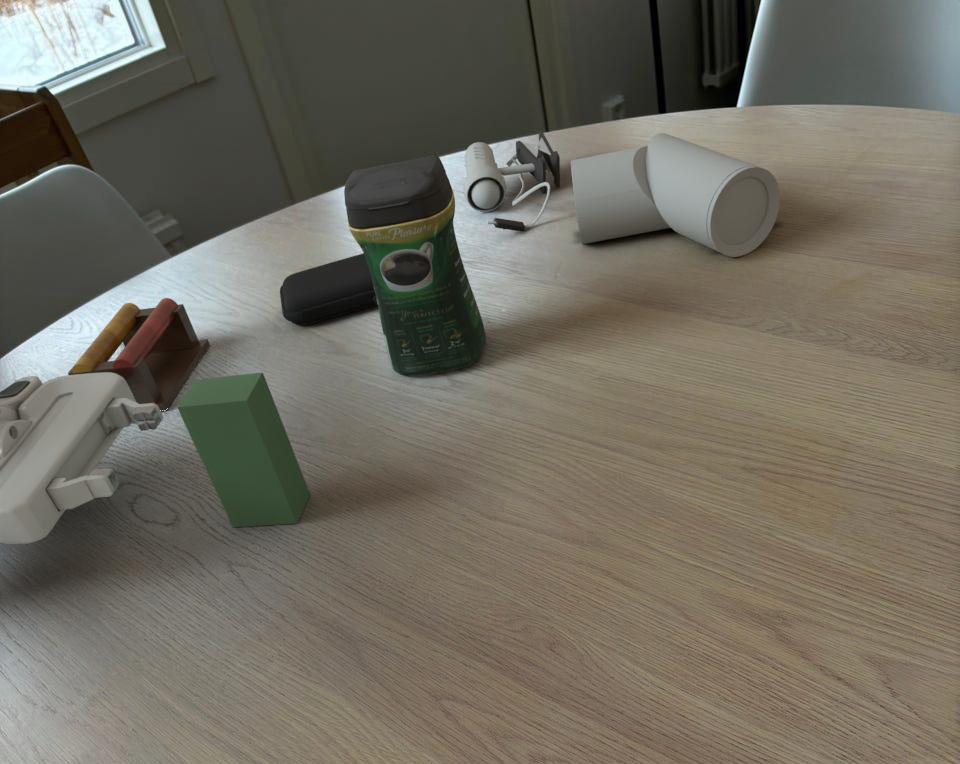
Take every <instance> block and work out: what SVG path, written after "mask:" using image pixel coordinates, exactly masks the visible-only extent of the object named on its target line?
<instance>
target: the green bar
mask: <svg viewBox="0 0 960 764" xmlns="http://www.w3.org/2000/svg"><path fill="white" fill-rule="evenodd" d="M176 407H177V411H178V412H179V414H180V417H181V419H182V421H183V423H184V425H185V427H186V430H187V432H188V434H189V436H190V439H191V441H192V443H193V445H194V447H195V449H196V451H197V454H198V455H199V458H200V460H201V462H202V464H203V466H204V469H205V471H206V473H207V475H208V477H209V480H210V481H211V484H212V486H213V488H214V491H215V492H216V494H217V496H218V497H217V498H218V499H219V501H220V503H221V505H222V507H223V509H224V512H225V514H226V517H227V518H228V520H229V523H230V525H231V527H232V528H245V527H246V528H247V527H249V528H250V527H262V526H278V525H279V526H280V525H296V524H298V523H299V521H300V518H301V517H302V514H303V512H304V510H305V507H306V505H307V503H308V501H309V499H310V497H311V493H310V490H309V488H308V485H307V482H306V480H305V477H304V475H303V472H302V469H301V466H300V464H299V462H298V460H297V457H296V454H295V452H294V450H293V446H292V444H291V441H290V439H289V436H288V434H287V431H286V428H285V426H284V423H283V421H282V418H281V415H280V413H279V410H278V407H277V405H276V403H275V400H274V398H273V395H272V393H271V389H270V387H269V385H268V382H267V380H266V377H265V374H264V372H254V373H245V374H237V375H236V374H235V375H234V374H233V375H225V376H215V377H205V378H196V379H194V380H193V381H192V383H191V384H190V386H189V388H188V389H187V391H186V392H185V394H184V395H183V397H182V398H181V400H180V402H178V405H176Z"/></svg>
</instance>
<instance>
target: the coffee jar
mask: <svg viewBox="0 0 960 764" xmlns="http://www.w3.org/2000/svg"><path fill="white" fill-rule="evenodd" d="M446 171H447V170H446V169H445V166H444V164H443V162H442V160H441V157H439V156H438V155H436V154H432V155H428V156H424V157H419V158H415V159H409V160H403V161H398V162H392V163H387V164H386V163H385V164H382V165H377V166H372V167H367V168H359V169H354V170H353V171H352V172H351V173H350V175H349V177H348V179H347V180H346V182H345V186H344V189H343V190H344V191H343V192H344V193H343V195H344V205H345V208H346V216H347V222H348V228H349V231H350V233H351V236H352V238H353V239H354V240H355V241H356V243H357V244H358V246H359V247H360V249H361V251H362V252H363V253H364V255H365V258H366V261H367V264H368V267H369V270H370V274H371V277H372V281H373V285H374V289H375V294H376V299H377V308H378V314H379V318H380V319H379V320H380V324H381V329H382V334H383V339H384V344H385V348H386V353H387V357H388V361H389V365H390V367H391V369H392V370H393V371H394V372H396V373H397V374H399V375H401V376H408V377H411V376H423V375H432V374H439V373H444V372H449V371H456V370H460V369H463V368H466V367H469V366H470V365H472V364H473V363H475V362H476V360H478V359H479V358H480V357H481V356H482V354H483V353H484V351H485V347H486V342H487V334H486V329H485V324H484V322H483V318H482V315H481V312H480V309H479V306H478V303H477V300H476V298H475V295H474V292H473V290H472V286H471V284H470V281H469V277H468V275H467V272H466V269H465V266H464V263H463V259H462V256H461V253H460V250H459V249H460V248H459V245H458V241H457V236H456V231H455V226H454V218H455V214H456V213H455V212H456V198H455V192H454V190H453V187H452V185H451V184H452V183H451V182H450V180H449V177H448V175H447V172H446ZM363 253H362V254H363Z"/></svg>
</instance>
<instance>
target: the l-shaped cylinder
mask: <svg viewBox="0 0 960 764" xmlns="http://www.w3.org/2000/svg"><path fill="white" fill-rule="evenodd" d="M570 171H571V172H570V173H571V181H572V189H573V195H574V204H575V205H574V206H575V212H576V219H577V226H578V233H579V239H580V244H581V245H585V244H591V243H596V242H601V241H607V240H612V239H618V238H623V237H629V236H635V235H639V234H645V233H650V232H656V231H662V230H668V229H672V230H673V231H674V232H676V233H677V234H679V235H681V236H684V237H686V238H687V239H690V240H692V241H693V242H696V243H698V244H701V245H702V246H704V247H707V248H709V249H711V250H713V251H715V252H718V253H720V254H721V255H724V256H726V257H730V258H731V257H732V258H738V257H742V256H745V255H748V254H749V253H751V252H753V251H755V250H756V249H757V248H758V247H759V246H761V244H762V243H764V241H765V240H766V238H767V237H768V236H769V234H770V232H772V230H773V227H774V226H775V223H776V221H777V217H778V214H779V211H780V203H781V192H780V186H779V183H778V180H777V178H776V177H775V175H774V174H773V173H772V172H771V171H769V170H768V169H766V168H764V167H761V166H759V165H755V164H753V163H749V162H747V161H745V160H741V159H738V158H736V157H733V156H730V155H727V154H724V153H722V152H719V151H716V150H713V149H710V148H708V147H705V146H702V145H699V144H696V143H693V142H692V141H691V142H690V141H688V140H685V139H682V138H679V137H676V136H673V135H671V134H669V133H664V132H660V133H657V134H655V135H653V136H652V137H651V138H650V140H649V141H648V144H647V145H643V146H638V147H632V148H628V149H623V150H618V151H612V152H608V153H607V152H606V153H602V154H597V155H592V156H587V157H582V158H578V159H577V158H575V159H571V160H570Z"/></svg>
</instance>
